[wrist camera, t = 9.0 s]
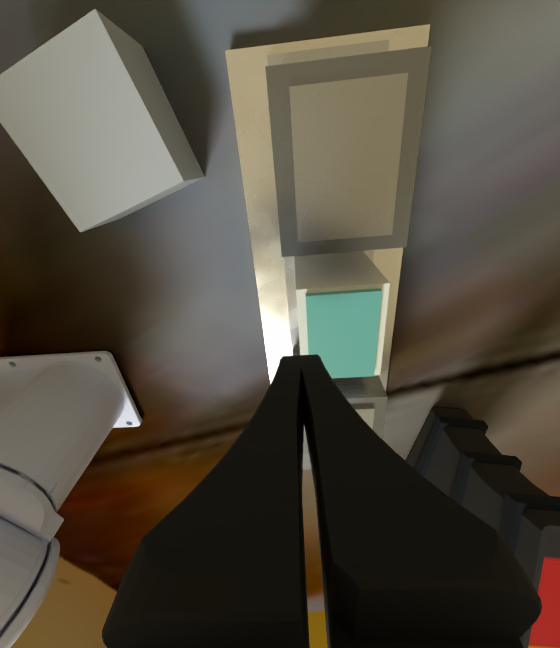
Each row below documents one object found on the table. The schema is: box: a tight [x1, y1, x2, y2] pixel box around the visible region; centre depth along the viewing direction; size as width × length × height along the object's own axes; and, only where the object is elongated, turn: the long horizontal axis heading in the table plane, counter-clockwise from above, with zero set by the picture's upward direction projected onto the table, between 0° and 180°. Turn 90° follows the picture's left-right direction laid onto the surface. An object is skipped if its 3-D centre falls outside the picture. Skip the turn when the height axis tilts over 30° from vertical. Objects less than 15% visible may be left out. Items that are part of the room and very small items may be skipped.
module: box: [294, 251, 390, 378], centre depth 16 cm, size 4×5×5 cm
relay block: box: [0, 9, 205, 232], centre depth 14 cm, size 6×6×4 cm
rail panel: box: [225, 24, 432, 469], centre depth 16 cm, size 9×24×7 cm, turn 5°
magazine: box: [406, 407, 560, 648], centre depth 22 cm, size 4×13×15 cm, turn 174°
